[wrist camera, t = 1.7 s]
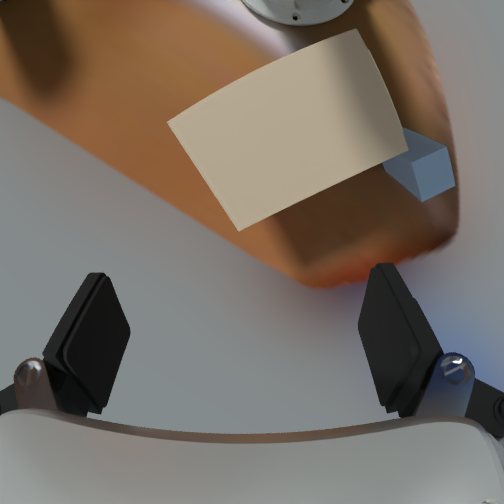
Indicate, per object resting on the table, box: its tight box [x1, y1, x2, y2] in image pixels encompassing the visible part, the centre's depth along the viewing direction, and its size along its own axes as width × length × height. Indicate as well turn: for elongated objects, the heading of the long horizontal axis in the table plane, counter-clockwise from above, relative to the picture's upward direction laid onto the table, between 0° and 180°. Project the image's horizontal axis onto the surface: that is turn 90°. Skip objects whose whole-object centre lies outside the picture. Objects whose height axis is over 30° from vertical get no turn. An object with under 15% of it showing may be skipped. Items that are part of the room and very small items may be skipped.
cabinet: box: [167, 28, 409, 231], centre depth 22 cm, size 12×8×14 cm
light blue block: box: [368, 49, 455, 202], centre depth 24 cm, size 4×14×9 cm, turn 29°
